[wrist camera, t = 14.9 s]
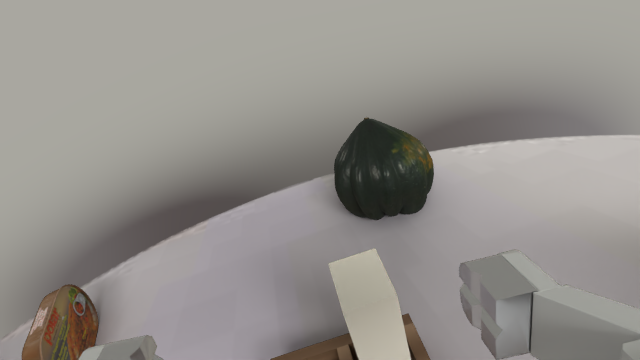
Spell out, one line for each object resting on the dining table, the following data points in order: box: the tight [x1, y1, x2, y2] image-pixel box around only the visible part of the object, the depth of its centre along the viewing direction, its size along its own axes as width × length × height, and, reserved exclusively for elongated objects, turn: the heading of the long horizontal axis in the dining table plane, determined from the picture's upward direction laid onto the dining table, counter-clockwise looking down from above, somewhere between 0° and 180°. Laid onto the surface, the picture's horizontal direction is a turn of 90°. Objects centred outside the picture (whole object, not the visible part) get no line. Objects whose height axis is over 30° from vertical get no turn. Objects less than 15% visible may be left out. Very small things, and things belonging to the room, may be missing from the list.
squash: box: [334, 118, 434, 220], centre depth 58 cm, size 14×15×15 cm
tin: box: [22, 285, 98, 360], centre depth 48 cm, size 15×3×8 cm, turn 20°
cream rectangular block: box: [328, 248, 411, 360], centre depth 32 cm, size 5×4×15 cm
